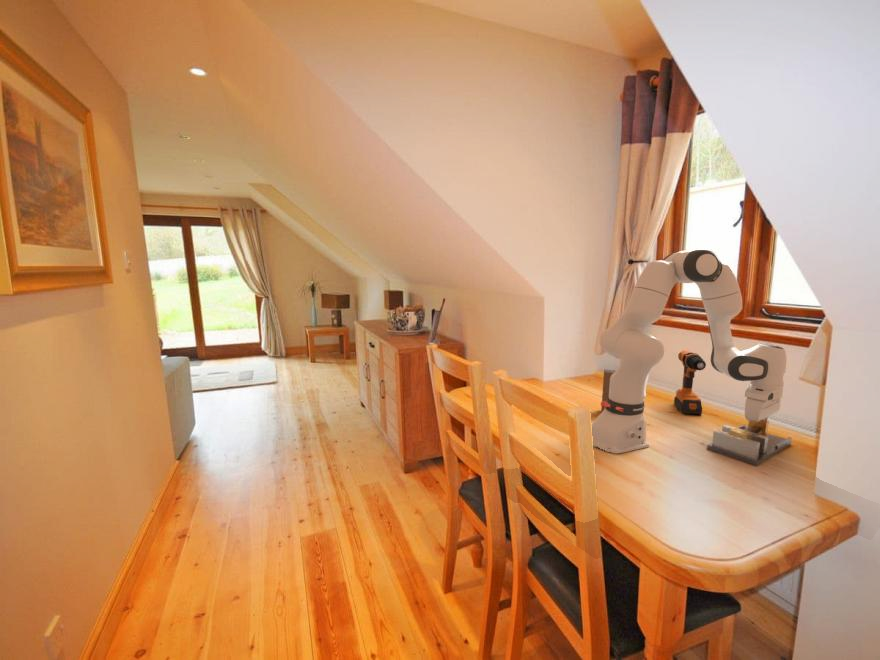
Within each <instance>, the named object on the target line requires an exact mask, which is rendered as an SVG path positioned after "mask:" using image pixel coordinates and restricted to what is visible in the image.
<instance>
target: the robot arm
mask: <svg viewBox="0 0 880 660" xmlns="http://www.w3.org/2000/svg"><path fill="white" fill-rule="evenodd" d="M677 283H683V284H693V283H694V284H695V285H697V287H698V288H699V293H700V296H701V301H702V304H703V308H704V310H705V311H704V312H705V314H706V318H707V323H708V329H709V335H710V338H711V345H712V347H711V349H712V350H711V355H710V364H711V366H712V368H713V370H716V371H717V372H718V373H721V374H723V375H725V376H728V377H729V378H732V379H733V380H735V381H740V382H747V381H748V382H750V383H749V386H748V388H746V390H745V391H744V397H745V398H746V399H745V403H744V417H745V420H747V421H748V422H749V421H753V422H759V421H761V420H766V421H769V417H770V416H772V415H774V414H776V413H777V412H779V411H780V409H781V399H782V397H783V391H784V384H785V382H784V376H785V373H786V370H787V352H786V350H785V349H784V348H783V347H782V346H779V345H777V344H772V343H767V342H758V343H757V344H756V345H754V346H753V347H750V348H748V349H744V350H739V348H737V347H736V346H735V343H734V340H733V334H732V330H731V329H732V328H731V320H732V319H734V318H735V317H736V316H738V315H739V314H740V312H741V311H742V310H743V296H742V292H741V289H740V285H739V282H738V280H737V277H736V275H735V273H734V271H733V269H732V267H731V266H730V265H729V264H728V263H727V262H723V261H721V259H720V258H719V256H718V255H717V254H716V253H715V252H714V251H712V250H710V249H706V248H697V249H686V250H681V251H677V252H672V253H670V254H667V256H665V257H663V259H661V260H659V259H658V260H651V261H650V262H648V263H647V264H646V265H645V267H644V268H643V270H642V272H641V273H640V275H639V276H638V279H637V280H636V282H635V284H634V285H635V286H634V288H633V290H632V292H631V295H630V298H629V300H628V302H627V305H626V307H625V309H624V310H623V311H622V313H621V315H620V316H619V317H618V318H617V320H616V321H615V322H614V323H613V324H612V325H610V327H608V328H606V329H605V330H604V331H602V333H601V334H600V337H599V345H600V346H599V347H601V349H602V350H603V351H604V352H605V353H607V354H608V355H609V356H611V357H612V358H613V357H614V358H616V359H619V360H620V361H619V362H620V363H619V366H618V368H617V370H616V372H615V373H613V374H612V375H611V377H610V387H609V396H608V398H607V400H606V402H605V401H602V400H601V402H600V406H601V408H602V407H605V409H604V410H603V412H602V413H600V414H599V415H598V416H597V418H596V419H595V420H594V421H593V422H592V424H591V426H592V436H593V446H592V447H593V448H596V447H595V446H597V447H599V448H600V449H599V450H601V449H603V450H602V451H604V450H605V452H607V453H610V452H611V454H616V455H617V454H618V453H619V454H623V453H627V452H631V451H636V450H640V449H641V450H642V449H644V448H645V449H646V448H648V447H650V443H649V441H647V421H646V419H645V417H644V414H643V413H644V411H645V401H644V397H643V396H644V387H645V381H646V377H647V375H648V373H649V374H650V372H651V370H652V368H654V366H656V365H658V364H659V363H660V362H661V361H662V359H663V357H664V355H665V346H664V344H663V342H662V341H661V340H660V339H658V338H657V337H655V336H653V335H652V334H650V333H645V331H646V330H647V329H648V328H649V327H650V326H651V325H652V324H654V323H656V322H658V321H659V320H660V319H661V317H662V315H663V312H664V310H665V307H666V305H667V303H668V300H669V297H670V295H671V292H672V289H673V288H674V286H675V285H676V284H677Z"/></svg>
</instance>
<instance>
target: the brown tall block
mask: <svg viewBox="0 0 880 660" xmlns="http://www.w3.org/2000/svg"><path fill="white" fill-rule="evenodd" d="M615 372H617V370H613V369H604V371H603V382H602V395H601V397H602V398H601V402H602V401H605V402H606V400H607V398H608V396H609V387H610V377H611V375H612V374H613V373H615ZM604 409H605V407H602V406H601V411H600V412H601V413H602V412H603V410H604ZM601 413H600V414H601Z"/></svg>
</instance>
